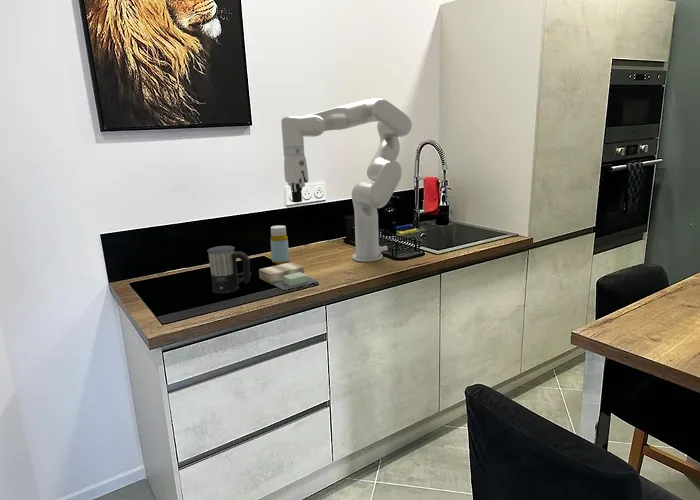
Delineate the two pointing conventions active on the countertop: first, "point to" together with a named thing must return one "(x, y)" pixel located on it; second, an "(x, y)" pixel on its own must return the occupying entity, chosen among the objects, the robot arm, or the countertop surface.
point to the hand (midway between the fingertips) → (297, 201)
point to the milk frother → (227, 269)
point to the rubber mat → (286, 287)
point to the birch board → (279, 272)
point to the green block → (295, 279)
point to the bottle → (279, 244)
